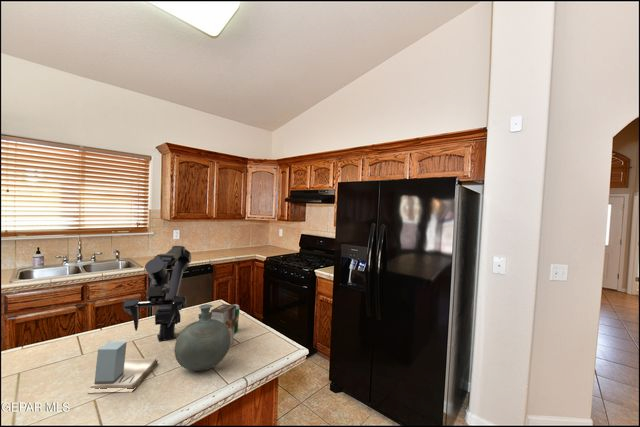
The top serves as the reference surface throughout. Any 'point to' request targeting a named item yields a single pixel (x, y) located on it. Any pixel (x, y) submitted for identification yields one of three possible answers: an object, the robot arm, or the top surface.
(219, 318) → the coffee box
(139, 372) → the board
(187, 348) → the flask
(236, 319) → the soda can
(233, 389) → the top surface
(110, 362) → the block
